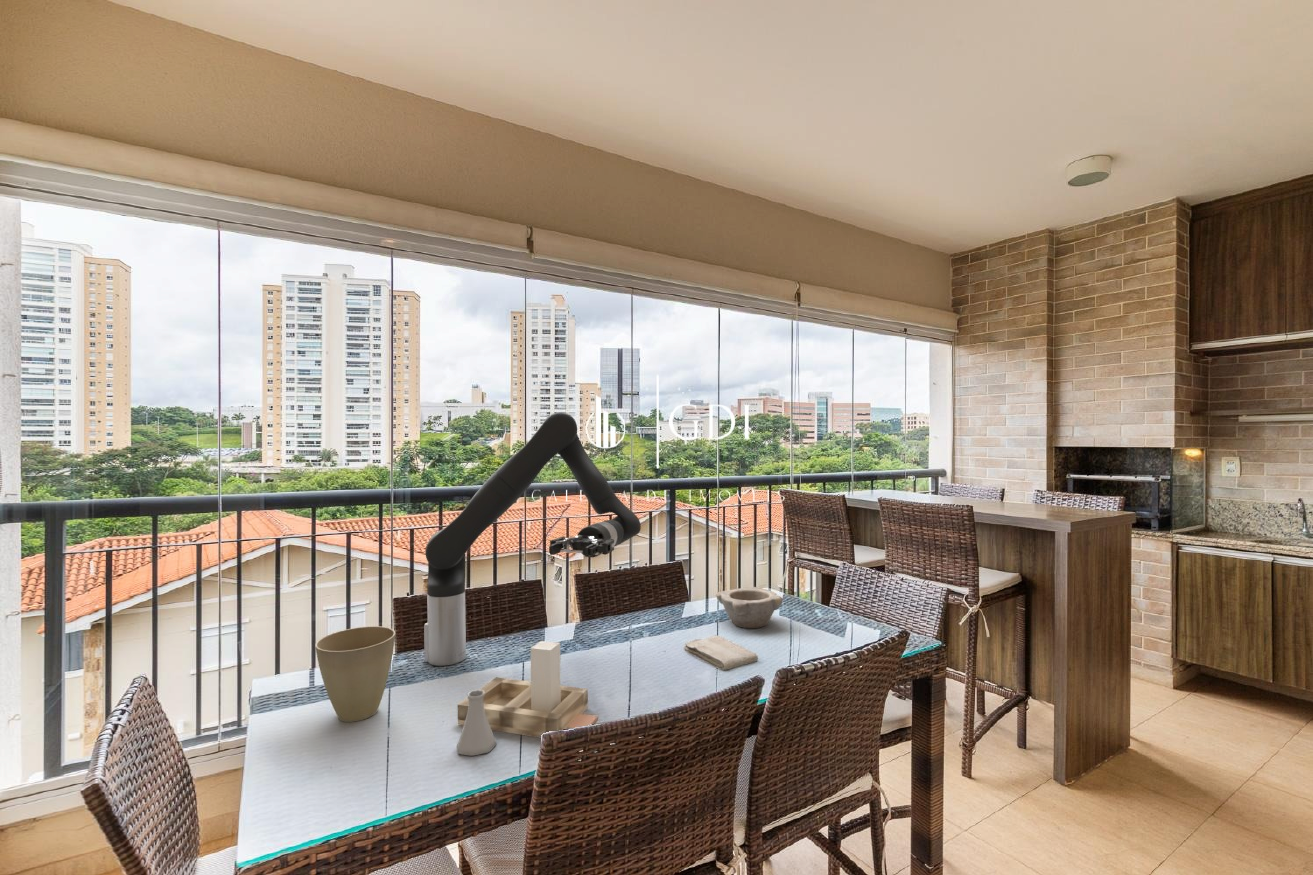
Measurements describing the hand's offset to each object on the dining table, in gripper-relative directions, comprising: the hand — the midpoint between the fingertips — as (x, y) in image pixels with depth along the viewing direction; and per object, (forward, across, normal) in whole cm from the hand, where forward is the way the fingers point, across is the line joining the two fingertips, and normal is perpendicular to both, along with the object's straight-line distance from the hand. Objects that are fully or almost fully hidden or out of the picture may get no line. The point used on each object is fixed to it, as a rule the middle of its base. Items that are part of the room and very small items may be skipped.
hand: (568, 551), depth 132 cm
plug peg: (+11, 0, +31) cm, 33 cm away
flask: (+24, -7, +32) cm, 41 cm away
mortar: (-61, +30, +32) cm, 75 cm away
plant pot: (+20, -39, +32) cm, 54 cm away
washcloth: (-33, +27, +33) cm, 54 cm away
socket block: (+11, -3, +32) cm, 34 cm away
